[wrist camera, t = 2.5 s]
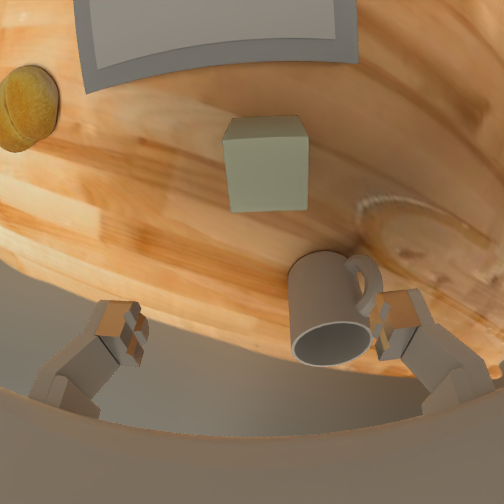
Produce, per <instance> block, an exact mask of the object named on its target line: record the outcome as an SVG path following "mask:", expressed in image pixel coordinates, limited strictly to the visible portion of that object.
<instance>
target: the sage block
mask: <svg viewBox="0 0 504 504" xmlns="http://www.w3.org/2000/svg"><path fill="white" fill-rule="evenodd" d="M222 144H223V152H224V160H225V168H226V177H227V185H228V193H229V200H230V208H231V213H238V212H261V211H292V210H307V207H308V156H309V137H308V134H307V132H306V130H305V128H304V126H303V124H302V122H301V120H300V118H299V116H298V115H295V116H261V117H244V118H232V120H231V122H230V124H229V127H228V129H227V131H226V133H225V135H224V137H223V140H222Z"/></svg>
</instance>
